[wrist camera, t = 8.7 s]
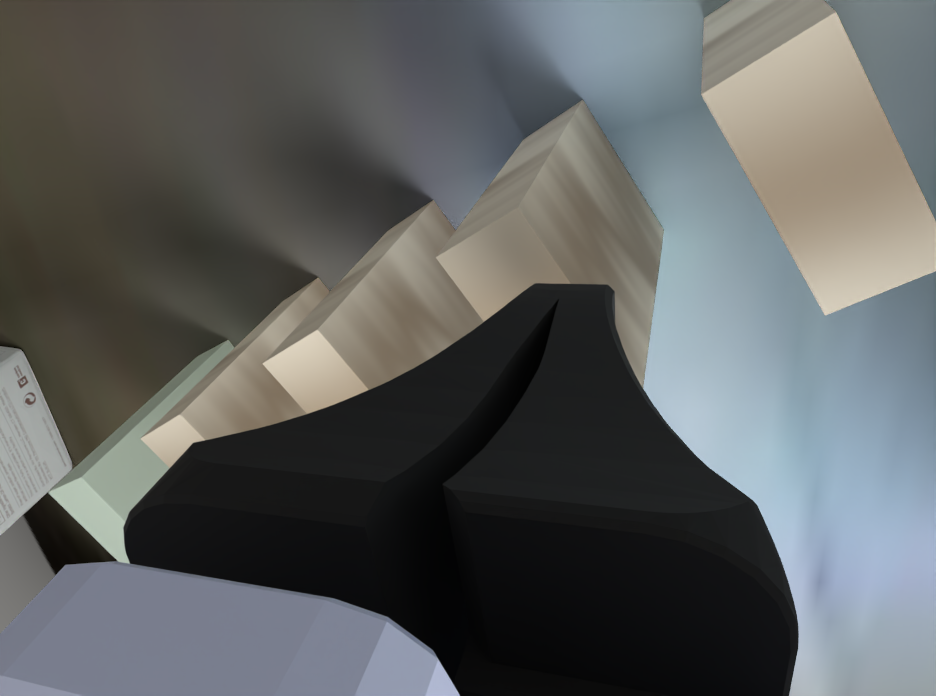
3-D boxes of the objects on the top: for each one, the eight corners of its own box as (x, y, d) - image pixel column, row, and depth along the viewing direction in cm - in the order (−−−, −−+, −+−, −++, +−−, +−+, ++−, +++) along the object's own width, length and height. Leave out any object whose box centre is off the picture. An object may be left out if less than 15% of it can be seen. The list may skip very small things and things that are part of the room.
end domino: (296, 423, 29) (177, 575, 23) (264, 436, 30) (143, 585, 24) (228, 339, 28) (81, 477, 21) (197, 356, 28) (47, 492, 22)
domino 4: (864, 126, 17) (955, 263, 11) (784, 167, 18) (825, 316, 12) (784, -37, 16) (836, 12, 10) (703, 17, 17) (700, 94, 11)
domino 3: (663, 230, 20) (643, 388, 14) (604, 261, 21) (559, 421, 15) (583, 99, 19) (518, 207, 13) (523, 139, 20) (435, 257, 14)
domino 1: (394, 370, 26) (291, 529, 20) (358, 389, 27) (248, 546, 21) (318, 277, 25) (180, 414, 18) (282, 301, 26) (140, 438, 19)
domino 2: (513, 308, 23) (436, 470, 17) (466, 332, 24) (378, 494, 18) (433, 199, 22) (317, 329, 15) (387, 230, 23) (262, 363, 16)
